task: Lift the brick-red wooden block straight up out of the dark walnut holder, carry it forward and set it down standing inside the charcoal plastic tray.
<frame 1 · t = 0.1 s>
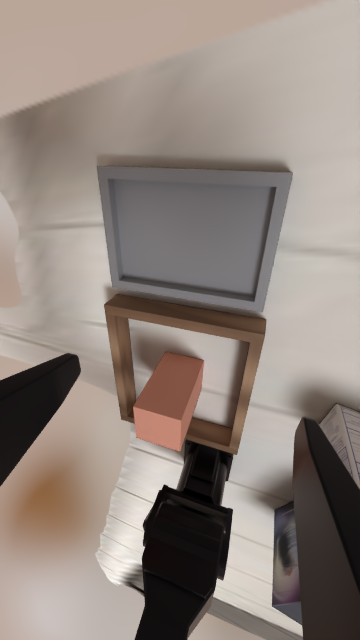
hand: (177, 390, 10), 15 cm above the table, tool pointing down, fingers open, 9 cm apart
small box: (315, 507, 35), on the table
brick block: (183, 371, 30), resting in walnut holder
charcoal tray: (188, 237, 22), on the table
walnut holder: (183, 371, 30), on the table
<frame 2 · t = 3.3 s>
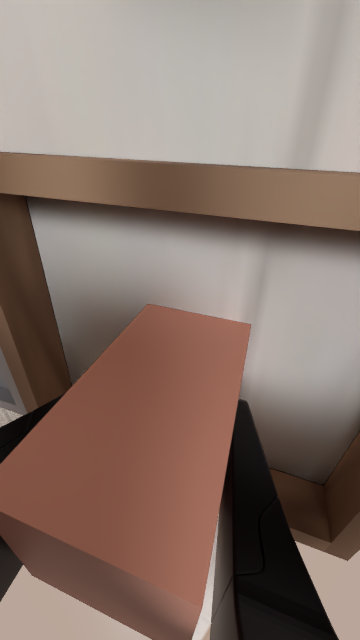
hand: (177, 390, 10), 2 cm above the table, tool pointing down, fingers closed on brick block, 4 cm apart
brick block: (193, 355, 12), resting in walnut holder, touching gripper
walnut holder: (193, 355, 12), on the table
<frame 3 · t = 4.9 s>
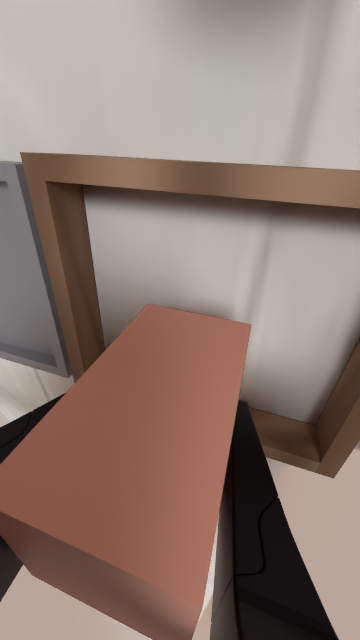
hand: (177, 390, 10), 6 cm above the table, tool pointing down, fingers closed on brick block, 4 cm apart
brick block: (193, 355, 12), point 4 cm above the table, touching gripper
charcoal tray: (4, 274, 19), on the table
walnut holder: (211, 315, 15), on the table
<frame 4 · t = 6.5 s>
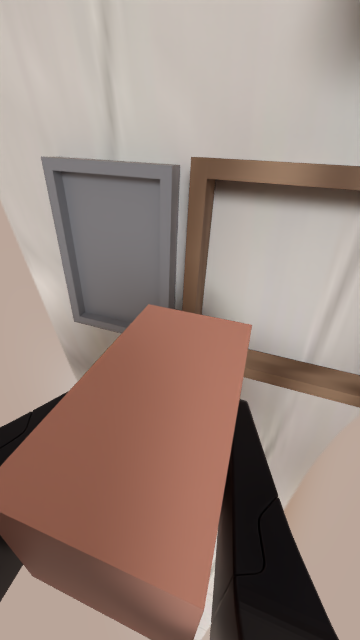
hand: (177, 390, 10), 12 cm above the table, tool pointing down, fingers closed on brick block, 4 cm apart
brick block: (193, 355, 12), point 10 cm above the table, touching gripper
charcoal tray: (121, 256, 22), on the table
walnut holder: (308, 287, 19), on the table
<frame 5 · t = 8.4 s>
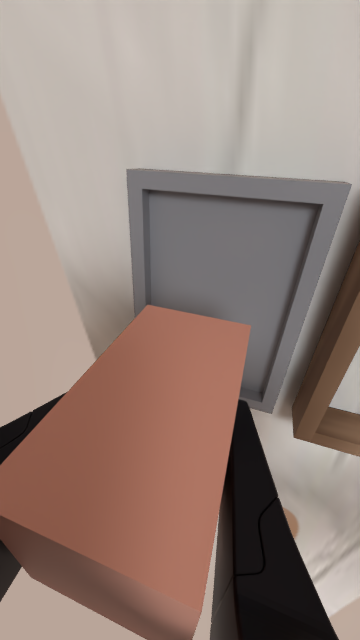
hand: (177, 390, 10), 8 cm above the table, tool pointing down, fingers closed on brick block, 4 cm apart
brick block: (193, 355, 12), point 6 cm above the table, touching gripper
charcoal tray: (216, 300, 17), on the table
when the fingers open (4 cm above the table, at t = 10.1 s): brick block stays where it is, resting on charcoal tray.
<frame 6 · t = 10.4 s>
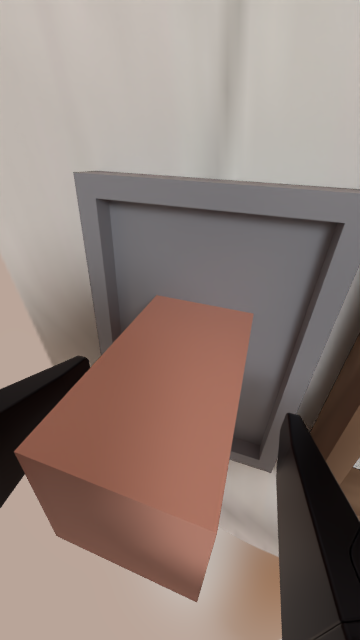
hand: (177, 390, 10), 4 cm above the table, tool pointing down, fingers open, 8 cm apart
brick block: (198, 343, 13), point 1 cm above the table, touching charcoal tray
charcoal tray: (200, 336, 13), on the table
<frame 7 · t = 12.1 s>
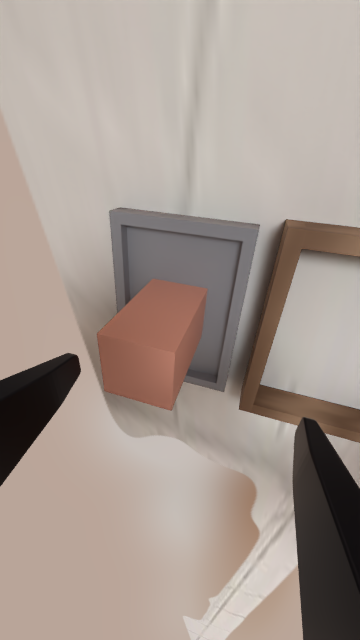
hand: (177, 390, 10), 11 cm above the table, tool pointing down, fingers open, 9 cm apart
brick block: (178, 308, 21), point 1 cm above the table, touching charcoal tray
charcoal tray: (179, 304, 22), on the table
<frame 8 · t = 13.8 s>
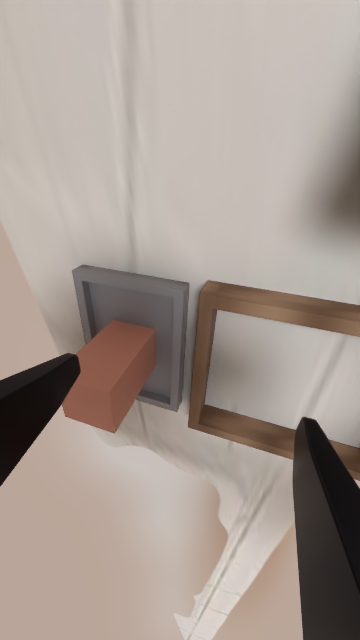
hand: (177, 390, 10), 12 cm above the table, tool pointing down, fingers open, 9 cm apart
brick block: (134, 343, 26), point 1 cm above the table, touching charcoal tray
charcoal tray: (136, 339, 26), on the table
walnut holder: (296, 377, 22), on the table
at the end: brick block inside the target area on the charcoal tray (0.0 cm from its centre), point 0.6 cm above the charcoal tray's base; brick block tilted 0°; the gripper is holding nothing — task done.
